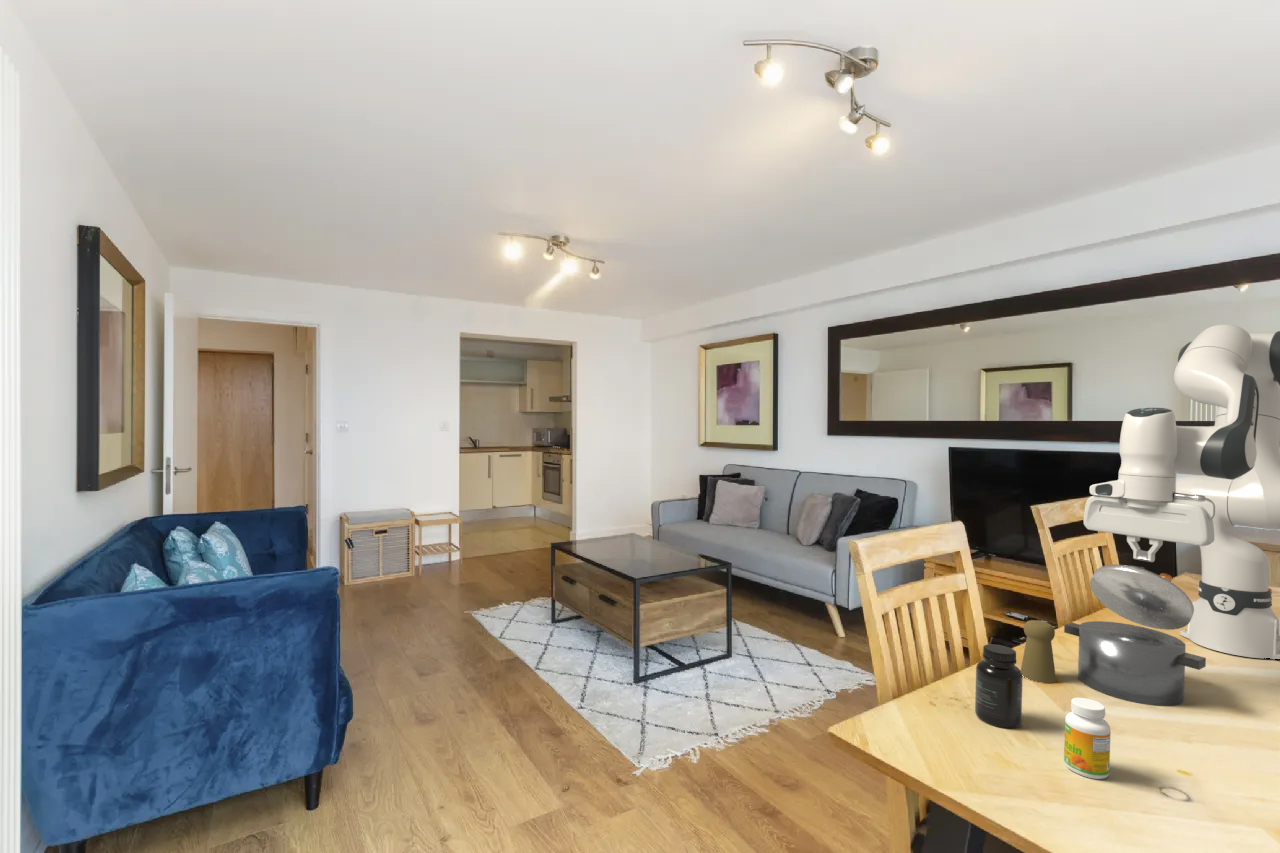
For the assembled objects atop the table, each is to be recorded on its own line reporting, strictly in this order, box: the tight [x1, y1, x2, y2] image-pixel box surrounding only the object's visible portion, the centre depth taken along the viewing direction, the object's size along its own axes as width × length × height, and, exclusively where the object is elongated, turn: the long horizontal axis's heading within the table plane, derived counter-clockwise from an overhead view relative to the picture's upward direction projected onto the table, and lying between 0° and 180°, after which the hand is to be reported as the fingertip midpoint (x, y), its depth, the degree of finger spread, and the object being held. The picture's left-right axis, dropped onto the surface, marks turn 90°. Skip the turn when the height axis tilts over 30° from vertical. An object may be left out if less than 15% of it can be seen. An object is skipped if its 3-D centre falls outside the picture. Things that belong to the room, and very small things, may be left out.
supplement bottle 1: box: [974, 643, 1024, 729], centre depth 105 cm, size 7×7×12 cm
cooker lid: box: [1089, 564, 1194, 631], centre depth 121 cm, size 16×16×4 cm
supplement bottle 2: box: [1063, 697, 1111, 780], centre depth 90 cm, size 5×5×10 cm
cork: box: [1020, 619, 1057, 684], centre depth 123 cm, size 6×6×11 cm
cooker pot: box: [1063, 620, 1207, 707], centre depth 119 cm, size 16×22×10 cm
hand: (1143, 560), depth 122 cm, fingers closed
